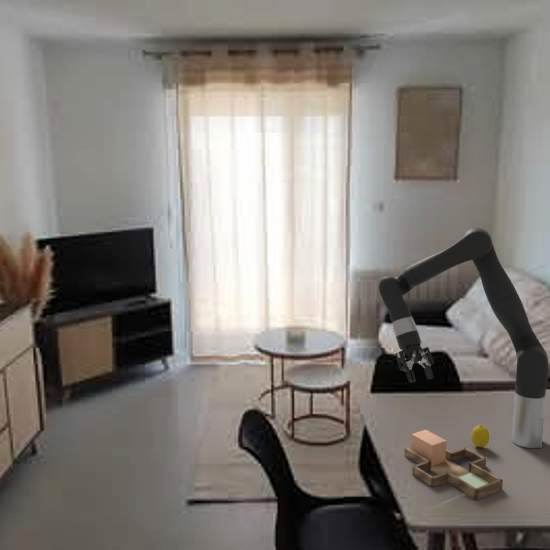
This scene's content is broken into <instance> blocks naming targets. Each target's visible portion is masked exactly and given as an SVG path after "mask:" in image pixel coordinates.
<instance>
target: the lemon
mask: <svg viewBox="0 0 550 550" xmlns="http://www.w3.org/2000/svg"><path fill="white" fill-rule="evenodd" d="M470 437H471V438H470V439H471V441H472V443H473V445H474V446H475V447H477V448H484V447H486V446H487V445H488V443H489V441H490V433H489V430H488V428H487V427H485V426H484V425H483V424H478V425H476V426H474V427H473V429H472V430H471V435H470Z"/></svg>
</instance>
